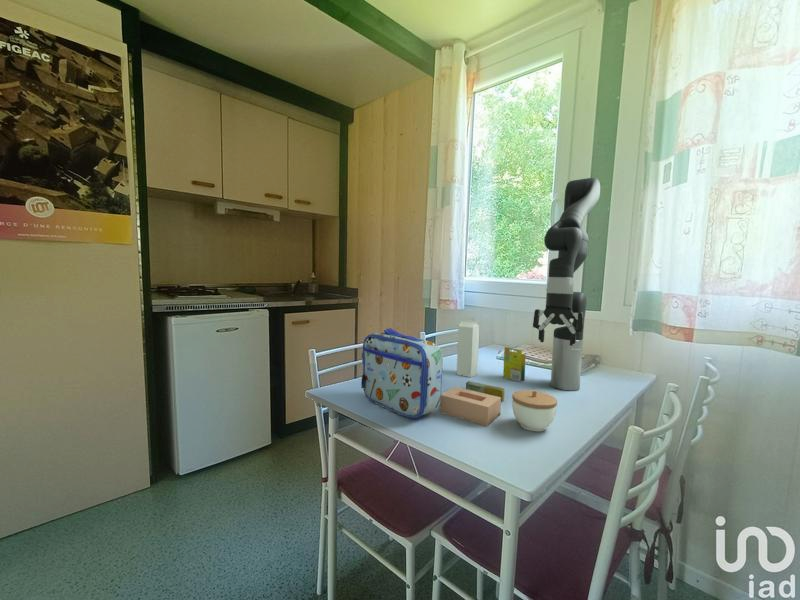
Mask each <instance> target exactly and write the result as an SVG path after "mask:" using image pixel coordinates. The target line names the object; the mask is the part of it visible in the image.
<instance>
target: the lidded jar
mask: <svg viewBox="0 0 800 600" xmlns="http://www.w3.org/2000/svg"><path fill="white" fill-rule="evenodd" d="M511 395H512V396H511V397H512V402H511V403H512V405H511V406H512V411H513V415H514V418H515V419H516V421H517V422H518V423H519V424H520V427H522V428H523V429H525V430H527V431H530V432H544V431H545V430H546V428H548V427H549V426H551V425H552V423H553V422H554V420H555V417H556V412H557V405H558V399H557V398H556V397H555V396H553V395H551V394H549V393H546V392H543V391H537V390H535V389H534V390H533V389H532V390H530V389H521V390H517V391H514V392H513V393H512V394H511Z"/></svg>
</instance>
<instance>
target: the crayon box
mask: <svg viewBox="0 0 800 600" xmlns="http://www.w3.org/2000/svg"><path fill="white" fill-rule="evenodd" d="M522 351H523V350H522V349H517V348H513V347H512V348H511V347H508V346H504V352H503V374H502V375H503V377H502V378H503V379H510V380H512V381H516V382H520V383H521V381H522V382H524V381H525V377H526V375H525V374H526V373H525V372H526V355H527V354H525V353H523V352H522Z"/></svg>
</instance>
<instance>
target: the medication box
mask: <svg viewBox="0 0 800 600" xmlns="http://www.w3.org/2000/svg"><path fill="white" fill-rule="evenodd" d="M465 389H468V390H472V391H476V392H480V393H485V394H489V395H493V396H497V397H501V403H504V401H505V392H506V391H505V389H506V388H504V387H499V386H493V385H489V384H485V383H480V382H476V381H471V380H468V381H467V382H466V383H465Z"/></svg>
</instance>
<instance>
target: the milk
mask: <svg viewBox="0 0 800 600" xmlns="http://www.w3.org/2000/svg"><path fill="white" fill-rule="evenodd" d="M457 331H458V332H457V354H456V355H457V356H456V357H457V358H456V375H457V374H459V375H458V376H461V375H463V377H466V376H467V377H466V378H473V377H474V376H476V375H478V368H479V367H478V364H479V341H480V340H479V339H480V338H479V337H480V325H479V324H478V323H477V318H476V317H467V316H462V317H461V321H460V323H459V325H458V326H457Z"/></svg>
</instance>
